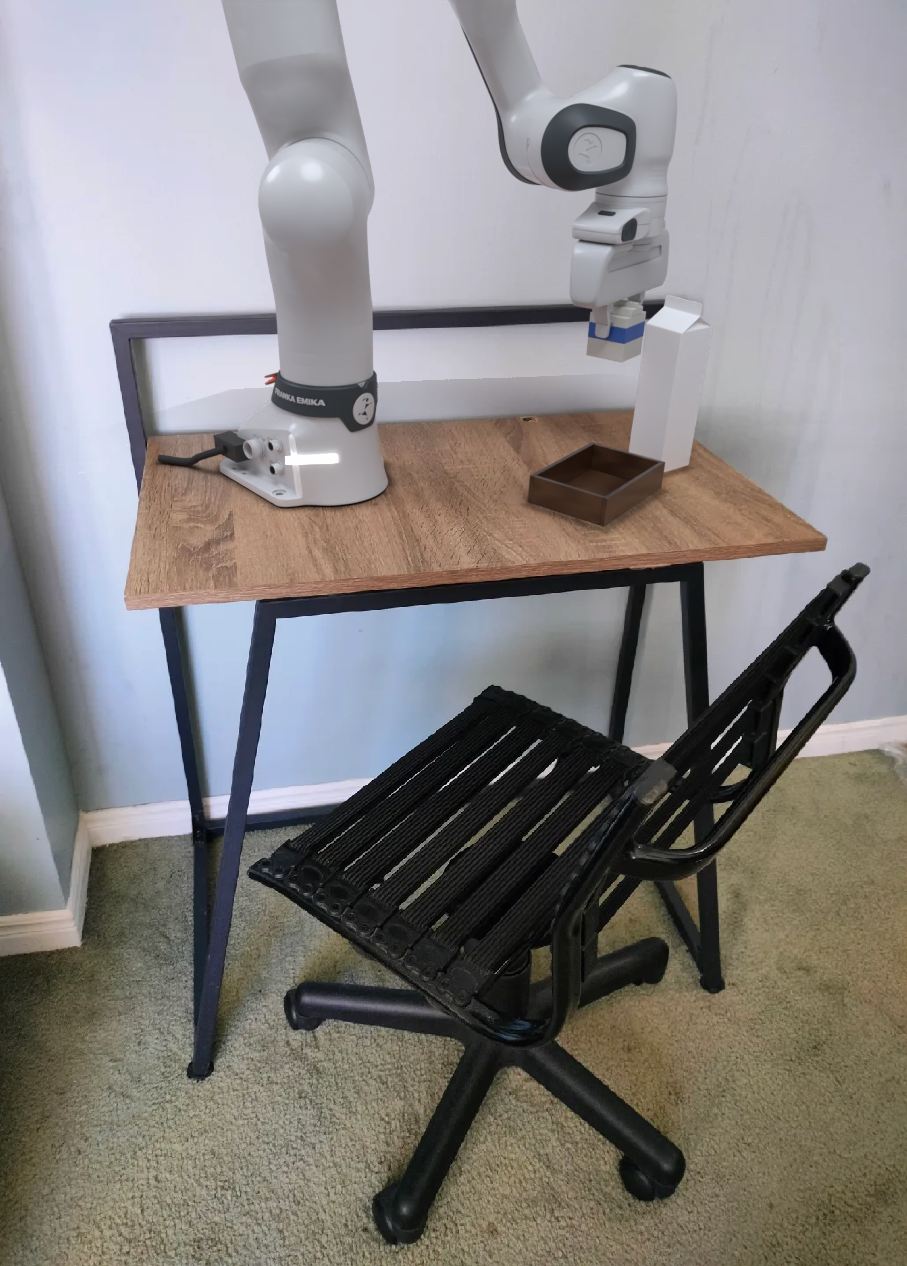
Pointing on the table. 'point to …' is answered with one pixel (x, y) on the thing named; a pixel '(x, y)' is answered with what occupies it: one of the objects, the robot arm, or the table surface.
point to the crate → (596, 483)
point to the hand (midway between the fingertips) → (615, 331)
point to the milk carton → (619, 333)
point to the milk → (671, 383)
